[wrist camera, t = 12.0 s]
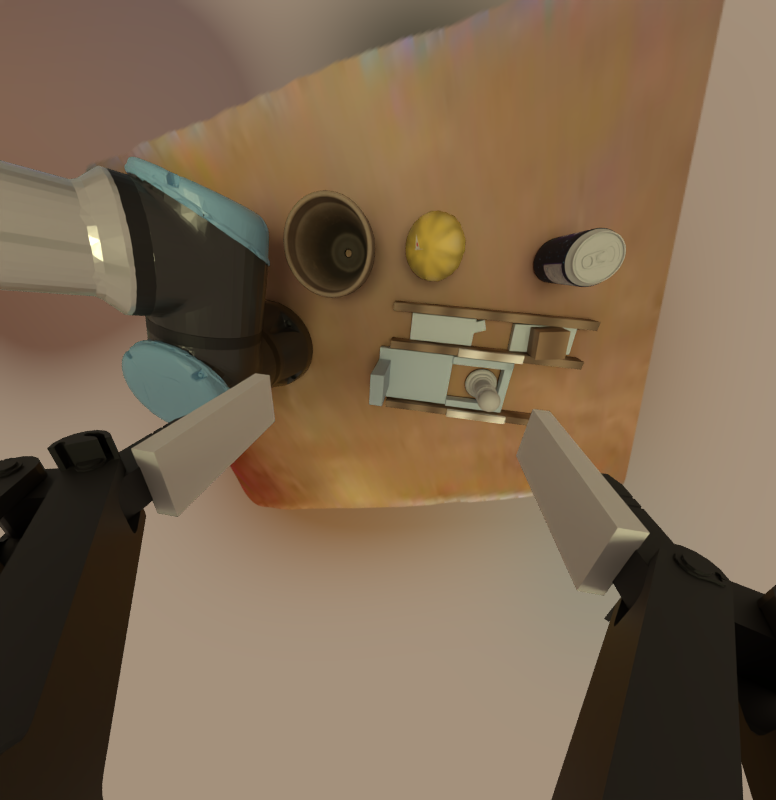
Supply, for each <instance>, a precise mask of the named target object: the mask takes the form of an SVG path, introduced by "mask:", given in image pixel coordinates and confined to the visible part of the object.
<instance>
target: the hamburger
mask: <svg viewBox="0 0 776 800" xmlns="http://www.w3.org/2000/svg"><path fill="white" fill-rule="evenodd" d="M464 251H465V237H464V233H463V230H462V228H461V224H460V223H459V222H458V221H457V219H456V218H455V217H454V216H453V215H450V214H449V213H447V212H441V211H431V212H429V213H427V214H425V215H423V216H421V217H420V218H419V219H418V220H417V221H416V222H415V223H414V224H413V226H412V227H411V229H410V231H409V233H408V236H407V240H406V258H407V261H408V264H409V266H410V268H411V269H412V271H413V272H414V273H415V274H416V275H417V276H418V277H420V278H422V279H424V280H427V281H440V280H442V279H445V278H446V277H448V276H449V275H451V274H453V272H454V271H455V270H456V269H457V268H458V267H459V264H460V262H461V260H462V257H463V254H464Z"/></svg>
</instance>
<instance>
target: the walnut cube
mask: <svg viewBox="0 0 776 800" xmlns="http://www.w3.org/2000/svg"><path fill="white" fill-rule="evenodd" d="M570 333H571V331H569V330H566V329H564V328H562V327H553V326H545V327H531V328H530V335H529V341H528V347H527V353H528V354H529V355H530V356H531V357H532V358H534V359H535V360H556V359H565V356H566V351H567V346H568V342H569V337H570Z"/></svg>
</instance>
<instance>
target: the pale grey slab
mask: <svg viewBox="0 0 776 800" xmlns="http://www.w3.org/2000/svg"><path fill="white" fill-rule="evenodd" d="M452 363H453V364H458V365H466V366H475V367H484V368H492V369H501V373H500V377H499V380H498V384H497V388H496V391H497V394H498V395H499V396H500V399H501V402H500V405H499V407H498V408H497V409H496V410H495V411H493V412H498V413H500V411H501V408H502V405H503V401H504V398H505V394H506V391H507V388H508V384H509V381H510V377H511V374H512V371H513V367H514V363H508V362H499V361H490V360H481V359H473V358H464V357H458V356H457V355H448V354H439V353H430V352H422V351H413V350H404V349H395V348H390V347H388V346H381V347H380V359H379V361H378V362H377V364H376V366H375V368H374V370H373V371H372V373H371V379H370V399H369V404H370V405H378V406H382V404H383V401H384V399H385V396H387V397H395V398H403V399H410V400H418V401H426V402H433V403H441V404H445V406H453V407H460V408H468V409H475V410H482V409H481V408H480V407H479V406H478V402H477V400H476V399H471V398H463V397H455V396H448V395H447V390H448V385H449V379H450V374H451V369H452ZM483 411H484V410H483Z"/></svg>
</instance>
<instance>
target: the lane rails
mask: <svg viewBox="0 0 776 800" xmlns="http://www.w3.org/2000/svg"><path fill="white" fill-rule="evenodd" d="M394 310H395V311H405V312H415V313H425V314H435V315H445V316H454V317H464V318H474V319H484V320H494V321H504V322H514V323H524V324H534V325H544V326H553V327H563V328H573V329H583V330H593V331H597V330H598V327H599V325H600V322H597V321H594V320H591V319H581V318H570V317H560V316H550V315H540V314H529V313H519V312H509V311H499V310H488V309H478V308H468V307H457V306H447V305H437V304H427V303H416V302H406V301H395V302H394ZM390 348H395V349H404V350H413V351H422V352H430V353H439V354H448V355H457V356H458V357H464V358H473V359H481V360H490V361H499V362H508V363H516V364H523V363H527V364H536V365H544V366H553V367H562V368H571V369H580V370H581V369H582V366H583V364H584V362H583V361H581V360H580V359H578V358H576V357H567V356H565V359H556V360H535V359H534V358H532V357H531V356H530V355H529V354H528V353H527V352H519V351H509V350H503V349H494V348H485V347H476V346H467V345H458V344H449V343H440V342H431V341H422V340H413V339H404V338H395V337H393V338H392V340H391V347H390ZM386 407H392V408H400V409H407V410H415V411H422V412H430V413H437V414H445V415H446V416H447V417H454V418H462V419H469V420H477V421H484V422H491V423H499V424H504V423H512V424H519V425H527V424H528V421H529V418H530V416H531V414H530V413H522V412H515V411H507V410H501V411H500V413H498V412H486V411H483V410H475V409H468V408H460V407H453V406H445V404H441V403H433V402H426V401H418V400H410V399H403V398H395V397H387V400H386Z"/></svg>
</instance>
